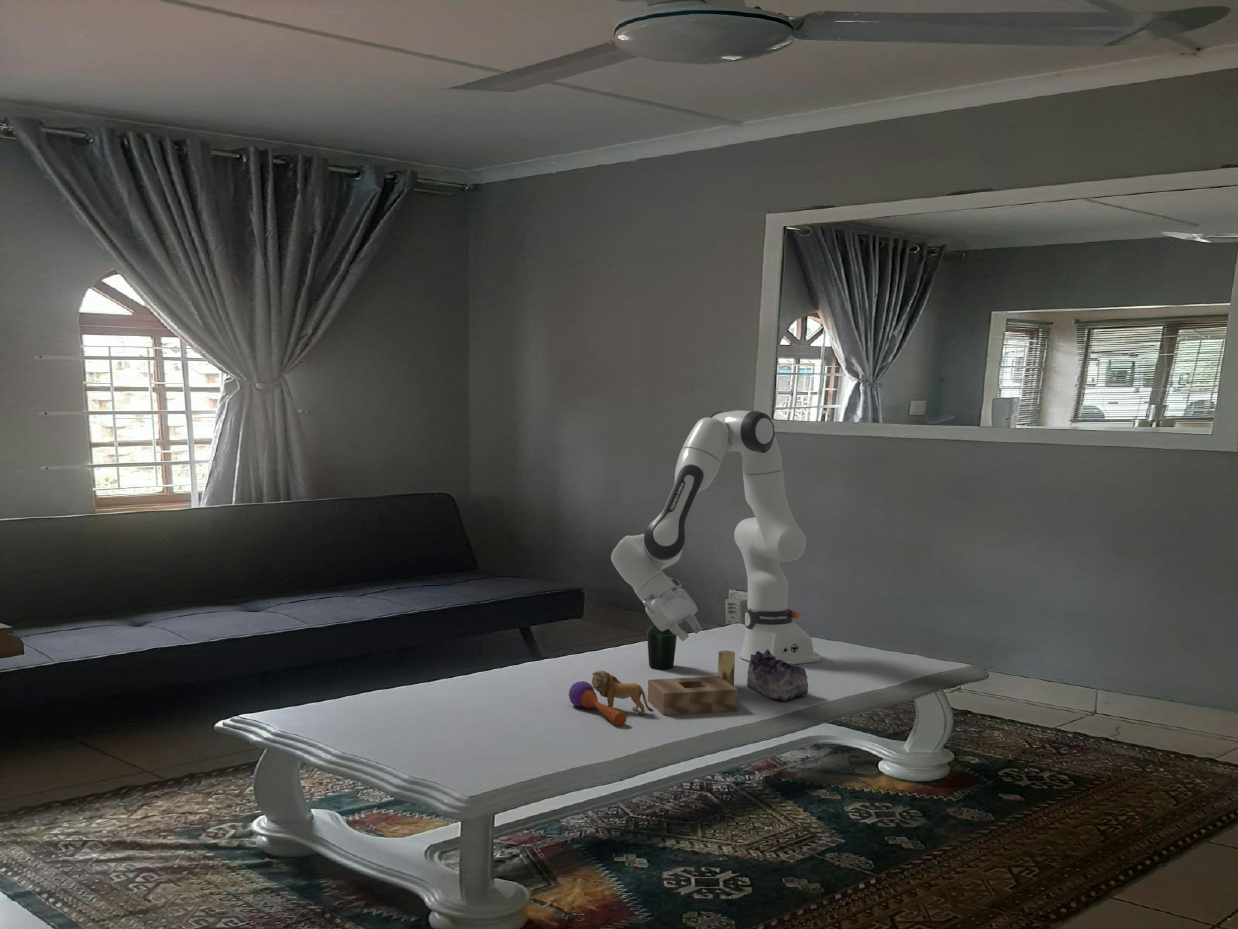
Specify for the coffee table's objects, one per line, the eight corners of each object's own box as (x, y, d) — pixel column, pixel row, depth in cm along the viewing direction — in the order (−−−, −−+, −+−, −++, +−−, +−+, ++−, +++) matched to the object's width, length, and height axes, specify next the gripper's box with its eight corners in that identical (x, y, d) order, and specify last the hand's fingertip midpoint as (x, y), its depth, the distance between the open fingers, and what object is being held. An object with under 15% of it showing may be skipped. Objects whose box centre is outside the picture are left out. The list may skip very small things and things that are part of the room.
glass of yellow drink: (730, 690, 267) (731, 650, 266) (736, 694, 263) (737, 654, 262) (715, 690, 265) (716, 651, 265) (720, 695, 262) (722, 654, 261)
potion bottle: (682, 667, 287) (684, 601, 286) (660, 672, 282) (661, 604, 281) (662, 661, 294) (663, 596, 292) (639, 666, 288) (641, 599, 287)
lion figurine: (588, 711, 246) (589, 672, 245) (593, 704, 251) (594, 667, 250) (651, 716, 243) (652, 677, 242) (655, 710, 248) (656, 671, 247)
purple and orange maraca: (607, 711, 233) (563, 682, 250) (609, 736, 235) (565, 706, 251) (630, 703, 236) (585, 674, 253) (632, 727, 238) (587, 698, 254)
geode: (728, 684, 273) (733, 645, 273) (766, 686, 278) (770, 647, 278) (774, 702, 254) (779, 660, 255) (813, 703, 260) (818, 662, 260)
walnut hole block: (718, 696, 260) (719, 676, 260) (737, 710, 249) (737, 689, 249) (647, 700, 256) (648, 679, 255) (663, 715, 244) (663, 693, 244)
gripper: (649, 591, 260) (686, 635, 256) (680, 578, 279) (714, 620, 275) (632, 607, 262) (668, 651, 259) (664, 594, 281) (698, 635, 277)
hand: (692, 635), depth 267 cm, fingers open, 8 cm apart
